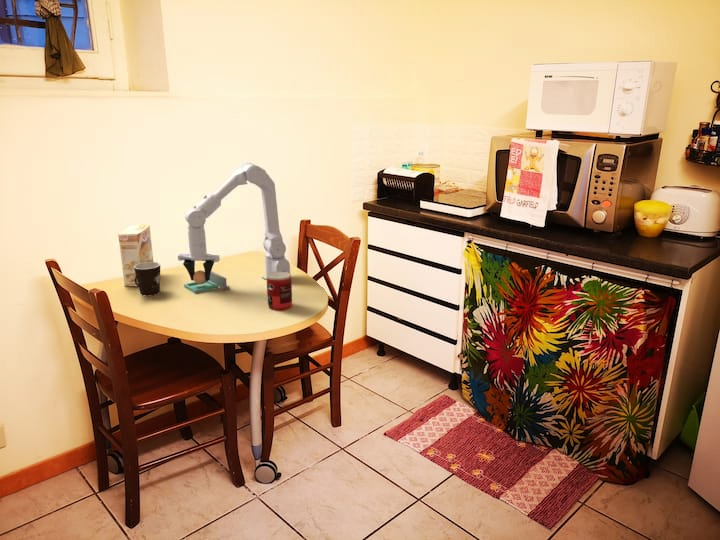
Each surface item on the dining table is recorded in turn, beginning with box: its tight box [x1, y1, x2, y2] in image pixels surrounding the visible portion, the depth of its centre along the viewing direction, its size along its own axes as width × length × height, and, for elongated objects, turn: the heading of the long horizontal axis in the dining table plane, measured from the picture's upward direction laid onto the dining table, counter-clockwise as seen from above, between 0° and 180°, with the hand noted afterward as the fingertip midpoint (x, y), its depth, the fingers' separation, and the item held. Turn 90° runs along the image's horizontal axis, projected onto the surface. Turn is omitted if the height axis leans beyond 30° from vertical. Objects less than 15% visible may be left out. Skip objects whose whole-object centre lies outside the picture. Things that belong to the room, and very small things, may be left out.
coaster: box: [183, 281, 220, 294], centre depth 195 cm, size 9×9×1 cm
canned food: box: [266, 271, 293, 311], centre depth 177 cm, size 8×8×11 cm
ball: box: [193, 270, 206, 284], centre depth 195 cm, size 5×5×5 cm
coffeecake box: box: [117, 224, 154, 285], centre depth 201 cm, size 15×7×20 cm, turn 4°
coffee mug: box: [134, 261, 161, 297], centre depth 187 cm, size 12×9×10 cm
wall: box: [209, 270, 230, 291], centre depth 199 cm, size 14×3×4 cm, turn 41°
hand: (200, 280), depth 195 cm, fingers closed on ball, 5 cm apart
